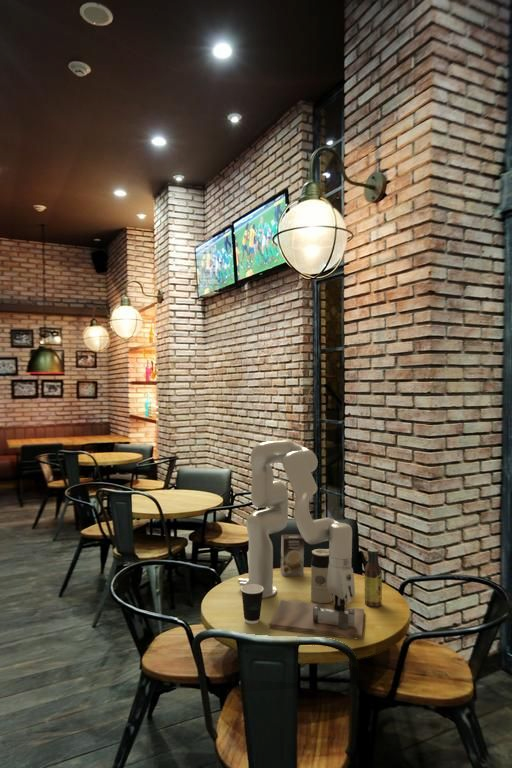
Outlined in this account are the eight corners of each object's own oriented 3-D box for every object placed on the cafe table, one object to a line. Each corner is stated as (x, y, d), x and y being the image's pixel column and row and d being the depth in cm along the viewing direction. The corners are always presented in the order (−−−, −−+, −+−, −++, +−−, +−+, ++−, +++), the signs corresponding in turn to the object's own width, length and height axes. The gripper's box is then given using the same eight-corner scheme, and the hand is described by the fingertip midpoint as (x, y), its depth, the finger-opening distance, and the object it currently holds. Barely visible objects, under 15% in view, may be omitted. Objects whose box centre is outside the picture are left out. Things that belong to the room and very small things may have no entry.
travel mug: (316, 593, 197) (316, 547, 198) (335, 598, 193) (335, 550, 194) (307, 601, 191) (307, 552, 191) (327, 605, 186) (327, 556, 187)
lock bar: (354, 624, 167) (354, 608, 167) (354, 627, 165) (354, 612, 165) (313, 619, 171) (313, 604, 171) (312, 622, 169) (312, 607, 169)
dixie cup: (249, 613, 179) (250, 582, 180) (268, 619, 175) (268, 587, 175) (235, 621, 173) (236, 589, 173) (254, 628, 168) (254, 594, 168)
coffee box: (282, 576, 216) (283, 538, 216) (280, 571, 222) (280, 534, 222) (304, 575, 217) (304, 538, 217) (300, 570, 223) (301, 533, 223)
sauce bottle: (382, 608, 184) (382, 553, 185) (364, 606, 186) (364, 552, 186) (381, 601, 191) (381, 548, 191) (364, 599, 192) (364, 547, 192)
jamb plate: (269, 628, 168) (269, 610, 168) (281, 604, 188) (281, 587, 188) (361, 639, 161) (361, 620, 161) (363, 613, 180) (364, 596, 180)
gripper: (363, 566, 166) (362, 623, 166) (336, 552, 179) (335, 605, 179) (344, 570, 162) (343, 627, 162) (318, 555, 176) (317, 608, 176)
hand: (339, 615), depth 171 cm, fingers closed
